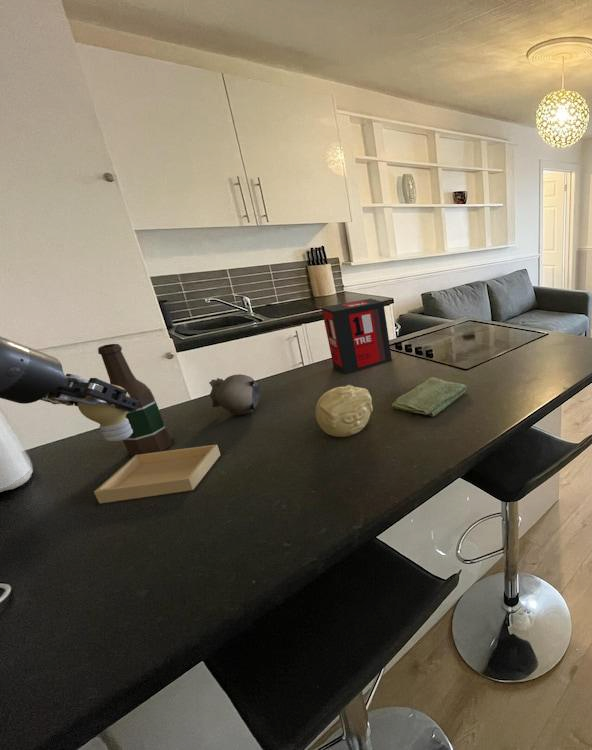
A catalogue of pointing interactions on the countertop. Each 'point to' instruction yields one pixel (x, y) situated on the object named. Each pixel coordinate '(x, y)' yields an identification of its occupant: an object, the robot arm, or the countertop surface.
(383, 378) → the countertop surface
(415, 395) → the washcloth
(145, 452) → the beer bottle
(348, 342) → the cleaning product box
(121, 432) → the light bulb
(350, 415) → the sculpture
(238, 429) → the countertop surface
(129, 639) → the countertop surface
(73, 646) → the countertop surface
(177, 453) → the pale tray
